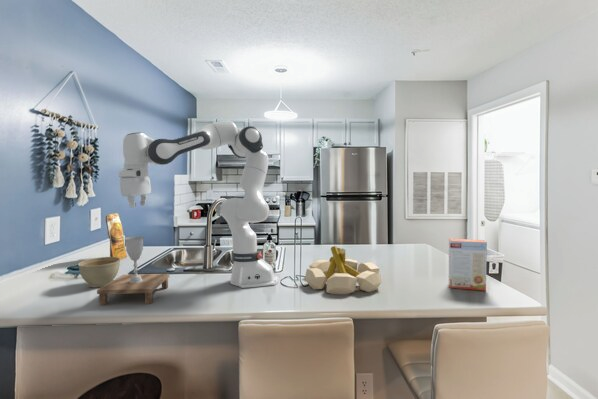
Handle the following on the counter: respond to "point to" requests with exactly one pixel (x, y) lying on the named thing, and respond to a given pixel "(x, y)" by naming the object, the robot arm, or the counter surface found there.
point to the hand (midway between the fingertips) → (138, 206)
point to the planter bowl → (99, 270)
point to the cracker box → (467, 264)
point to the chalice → (134, 255)
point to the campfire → (342, 274)
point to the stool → (133, 286)
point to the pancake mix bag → (115, 236)
